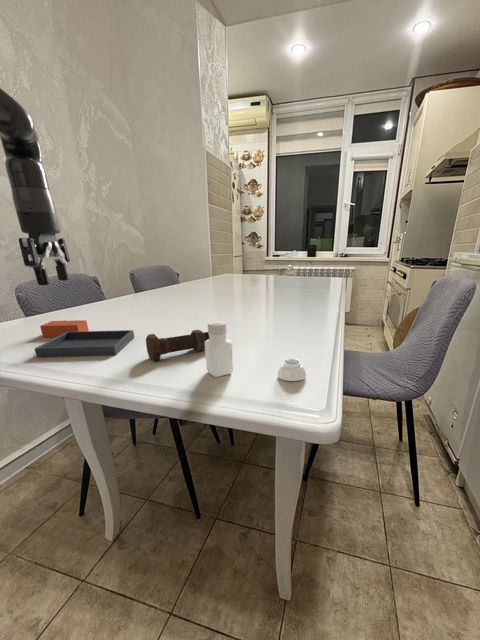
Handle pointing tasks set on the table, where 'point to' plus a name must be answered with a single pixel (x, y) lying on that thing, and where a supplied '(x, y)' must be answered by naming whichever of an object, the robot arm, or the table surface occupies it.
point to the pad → (63, 327)
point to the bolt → (175, 344)
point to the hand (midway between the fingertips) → (54, 282)
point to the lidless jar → (291, 370)
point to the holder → (85, 343)
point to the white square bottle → (218, 350)
